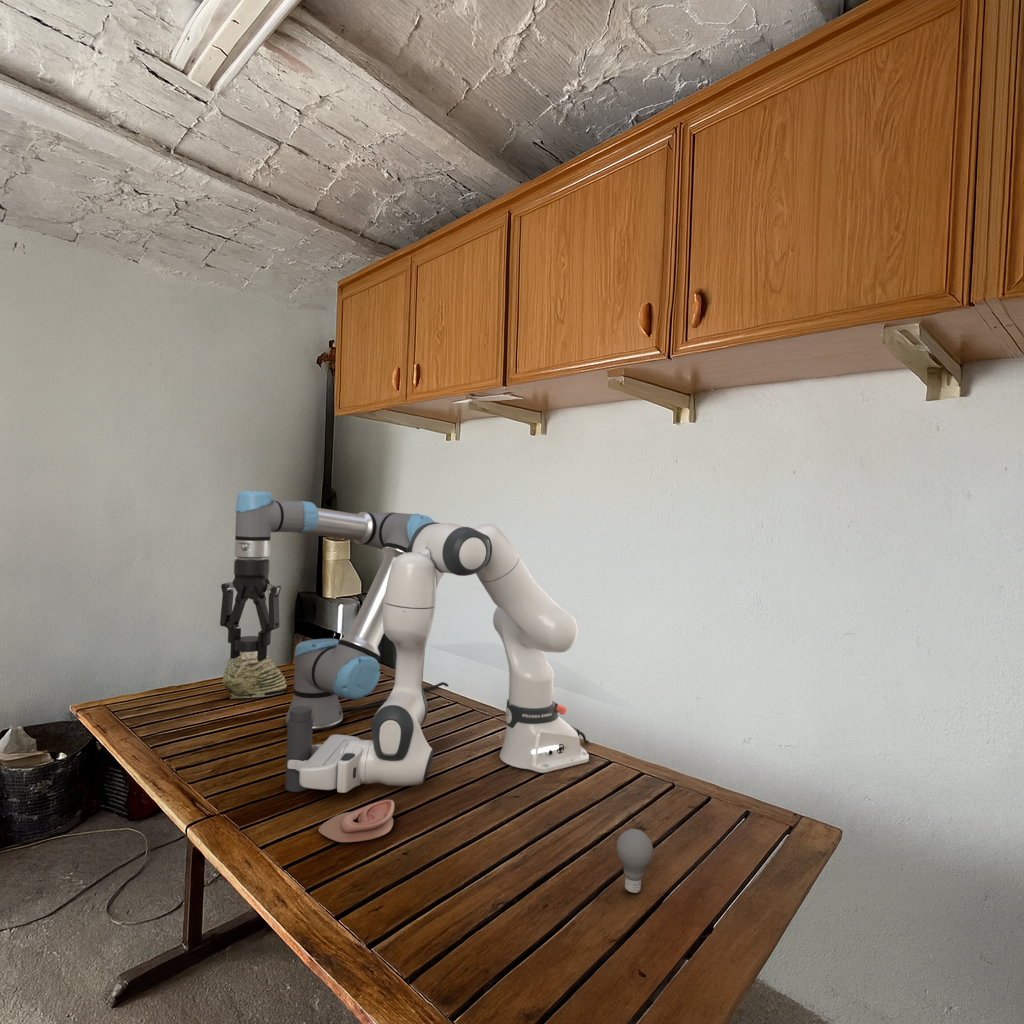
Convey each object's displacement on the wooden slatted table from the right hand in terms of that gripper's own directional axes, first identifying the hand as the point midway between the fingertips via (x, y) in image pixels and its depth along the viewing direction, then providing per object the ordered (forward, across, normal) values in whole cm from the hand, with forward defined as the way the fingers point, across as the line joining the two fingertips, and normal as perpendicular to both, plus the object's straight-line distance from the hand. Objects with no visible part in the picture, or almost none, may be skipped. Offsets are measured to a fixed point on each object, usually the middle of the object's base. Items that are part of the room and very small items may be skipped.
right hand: (294, 756), depth 138 cm
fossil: (+36, -58, +6) cm, 69 cm away
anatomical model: (-19, +15, +6) cm, 25 cm away
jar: (-1, 0, +6) cm, 6 cm away
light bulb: (-69, +29, +6) cm, 75 cm away
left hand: (+15, -8, -19) cm, 25 cm away
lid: (+15, -8, -23) cm, 28 cm away
